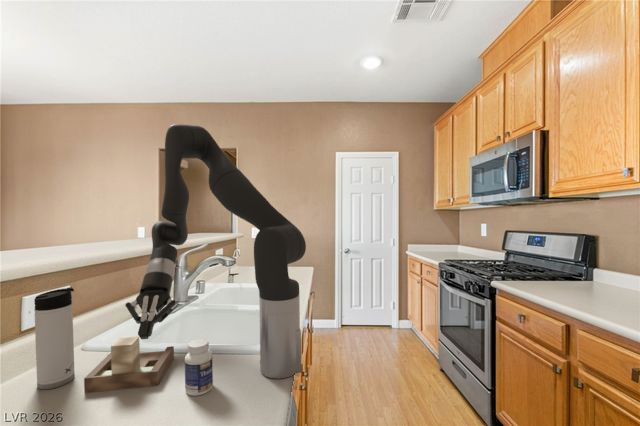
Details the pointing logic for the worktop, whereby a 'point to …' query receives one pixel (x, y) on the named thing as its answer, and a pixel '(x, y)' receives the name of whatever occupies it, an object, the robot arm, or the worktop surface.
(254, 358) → the worktop surface
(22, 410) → the worktop surface
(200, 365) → the pill bottle
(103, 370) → the box
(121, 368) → the birch block
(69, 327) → the travel mug
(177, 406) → the worktop surface
